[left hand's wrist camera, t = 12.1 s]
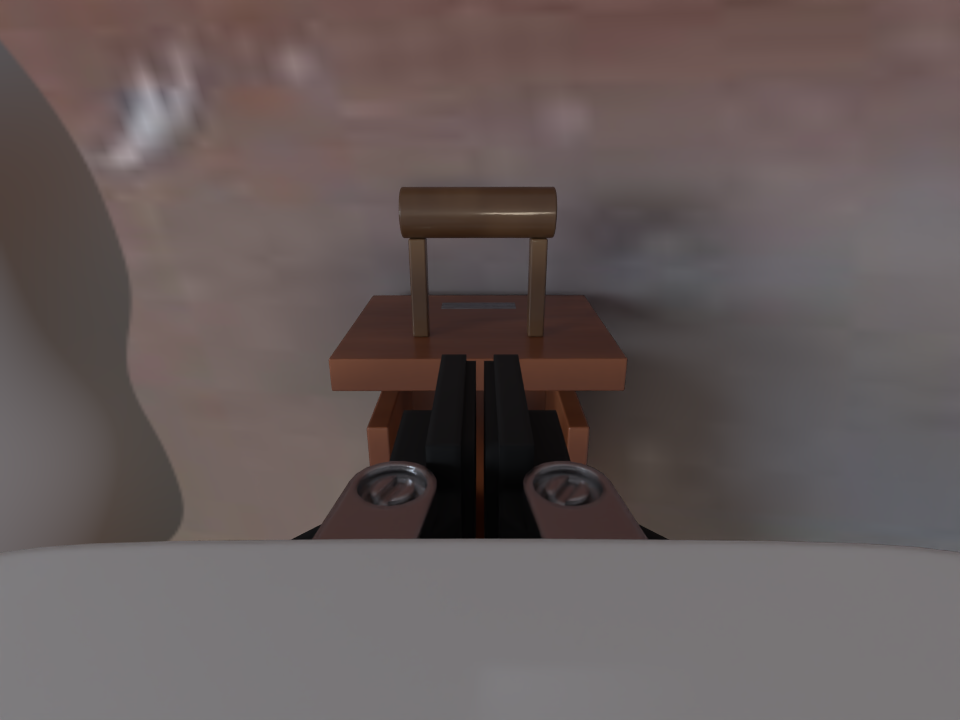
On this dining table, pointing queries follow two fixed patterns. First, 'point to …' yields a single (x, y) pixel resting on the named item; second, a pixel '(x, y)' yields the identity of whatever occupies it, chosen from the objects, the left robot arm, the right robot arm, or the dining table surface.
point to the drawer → (477, 325)
